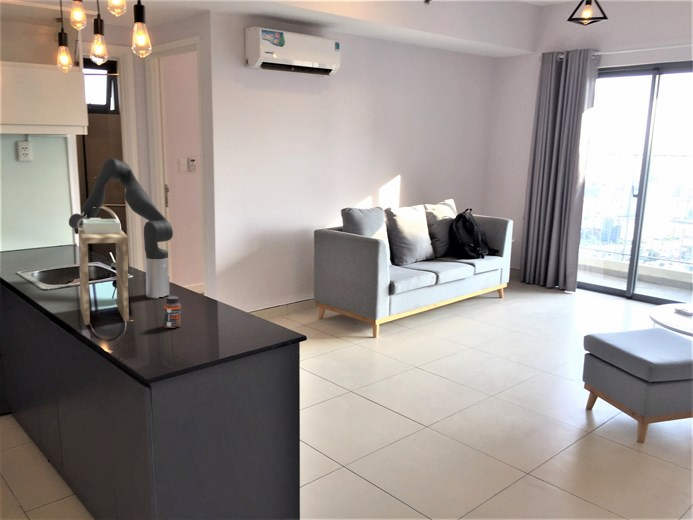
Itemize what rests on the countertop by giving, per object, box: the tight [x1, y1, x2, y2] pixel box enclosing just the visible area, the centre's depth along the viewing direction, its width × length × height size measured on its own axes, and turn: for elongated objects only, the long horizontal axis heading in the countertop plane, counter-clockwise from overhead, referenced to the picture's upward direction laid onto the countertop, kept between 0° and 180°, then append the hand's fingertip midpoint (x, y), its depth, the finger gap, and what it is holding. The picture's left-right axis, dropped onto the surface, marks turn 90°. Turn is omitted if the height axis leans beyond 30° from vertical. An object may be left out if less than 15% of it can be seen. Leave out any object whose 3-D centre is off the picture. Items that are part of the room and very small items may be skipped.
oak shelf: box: [77, 228, 130, 325], centre depth 220 cm, size 15×24×32 cm, turn 28°
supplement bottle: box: [163, 295, 182, 329], centre depth 212 cm, size 6×6×11 cm
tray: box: [83, 217, 121, 234], centre depth 228 cm, size 12×32×4 cm, turn 28°
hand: (94, 228), depth 247 cm, fingers open, 8 cm apart
